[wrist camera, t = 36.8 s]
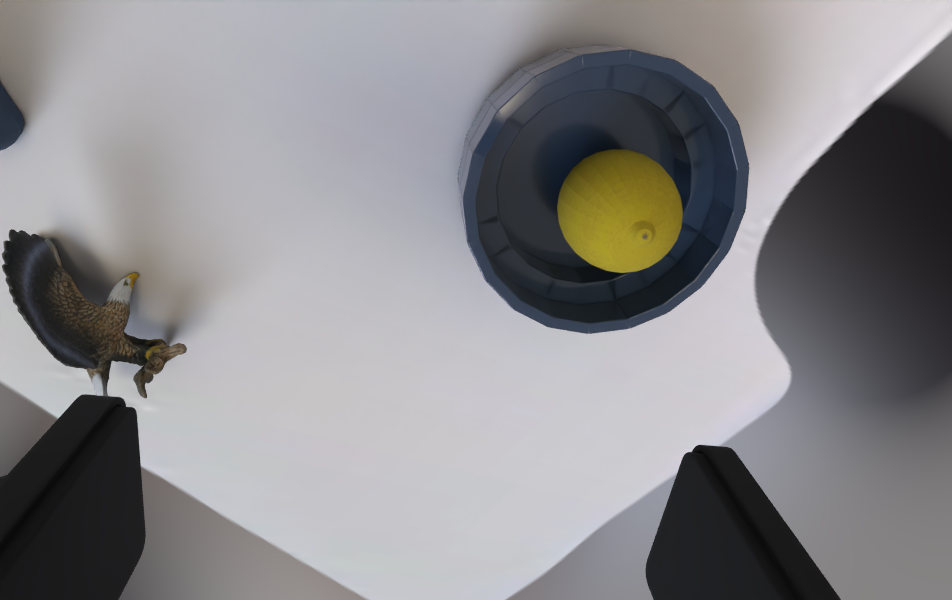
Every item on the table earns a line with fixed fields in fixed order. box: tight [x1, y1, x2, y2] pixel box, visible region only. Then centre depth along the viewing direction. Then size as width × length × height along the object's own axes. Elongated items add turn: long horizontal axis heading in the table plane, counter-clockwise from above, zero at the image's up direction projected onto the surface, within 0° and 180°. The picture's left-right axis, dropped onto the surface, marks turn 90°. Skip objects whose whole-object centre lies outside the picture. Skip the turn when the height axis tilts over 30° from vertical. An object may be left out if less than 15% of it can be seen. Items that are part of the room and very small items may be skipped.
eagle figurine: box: [2, 230, 187, 398], centre depth 32 cm, size 8×7×9 cm
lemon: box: [557, 149, 683, 273], centre depth 30 cm, size 6×6×8 cm
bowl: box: [458, 45, 749, 334], centre depth 31 cm, size 13×13×5 cm
